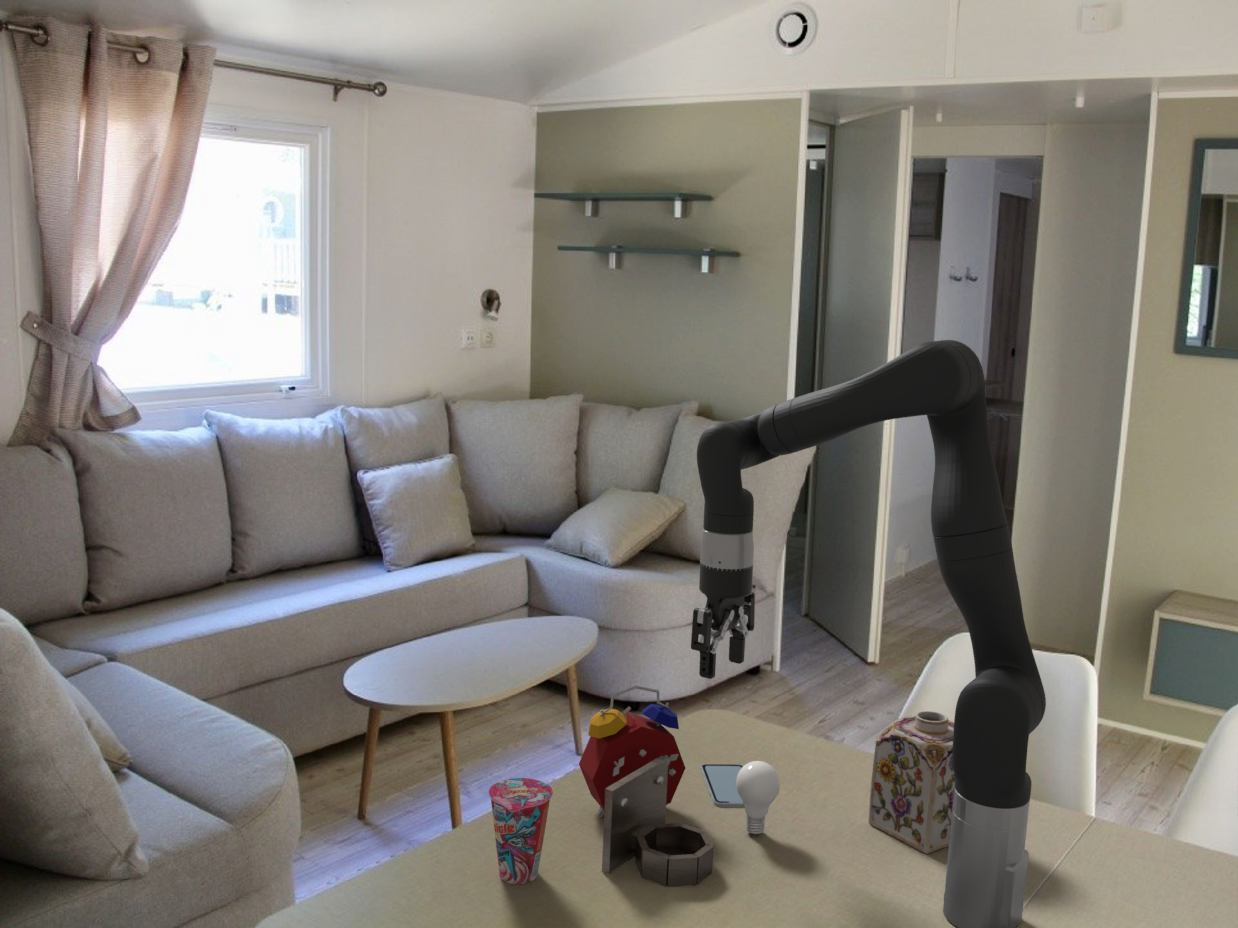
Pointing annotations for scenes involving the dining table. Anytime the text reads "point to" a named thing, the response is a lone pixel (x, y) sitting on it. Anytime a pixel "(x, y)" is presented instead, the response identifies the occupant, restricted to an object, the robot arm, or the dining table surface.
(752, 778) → the lightbulb
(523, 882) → the cup
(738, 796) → the smartphone
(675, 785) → the alarm clock
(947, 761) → the decorative jar
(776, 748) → the dining table surface
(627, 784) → the bracket
